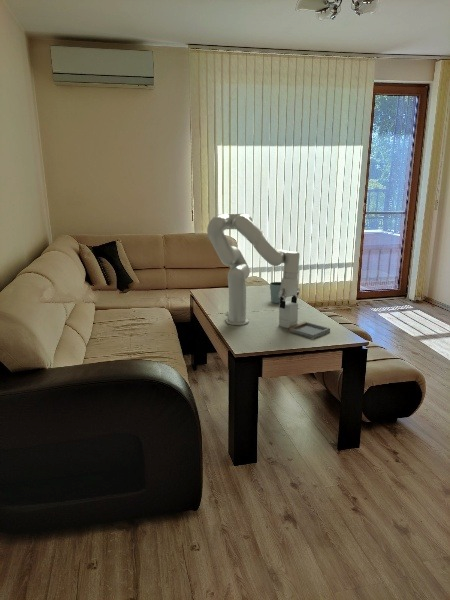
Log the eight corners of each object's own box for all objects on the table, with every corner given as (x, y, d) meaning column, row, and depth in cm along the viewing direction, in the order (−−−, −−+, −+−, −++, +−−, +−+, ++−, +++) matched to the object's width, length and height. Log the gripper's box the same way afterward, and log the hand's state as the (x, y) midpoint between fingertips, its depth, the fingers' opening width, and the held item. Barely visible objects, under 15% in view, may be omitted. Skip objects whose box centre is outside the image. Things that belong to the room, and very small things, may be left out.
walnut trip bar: (287, 331, 225) (287, 327, 225) (304, 324, 235) (304, 321, 235) (290, 332, 224) (290, 328, 223) (307, 325, 234) (307, 322, 233)
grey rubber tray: (290, 332, 224) (290, 328, 223) (307, 325, 234) (307, 322, 233) (312, 339, 214) (313, 335, 213) (330, 331, 224) (330, 328, 223)
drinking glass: (281, 304, 275) (281, 285, 272) (266, 302, 281) (267, 284, 277) (287, 300, 284) (288, 282, 281) (273, 298, 289) (273, 281, 286)
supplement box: (297, 325, 234) (298, 303, 230) (289, 329, 229) (289, 306, 226) (287, 322, 239) (287, 300, 236) (278, 325, 234) (278, 303, 231)
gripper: (295, 271, 234) (292, 302, 239) (274, 275, 223) (272, 307, 227) (306, 274, 229) (303, 305, 234) (285, 278, 218) (283, 311, 222)
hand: (288, 306), depth 231 cm, fingers open, 9 cm apart
